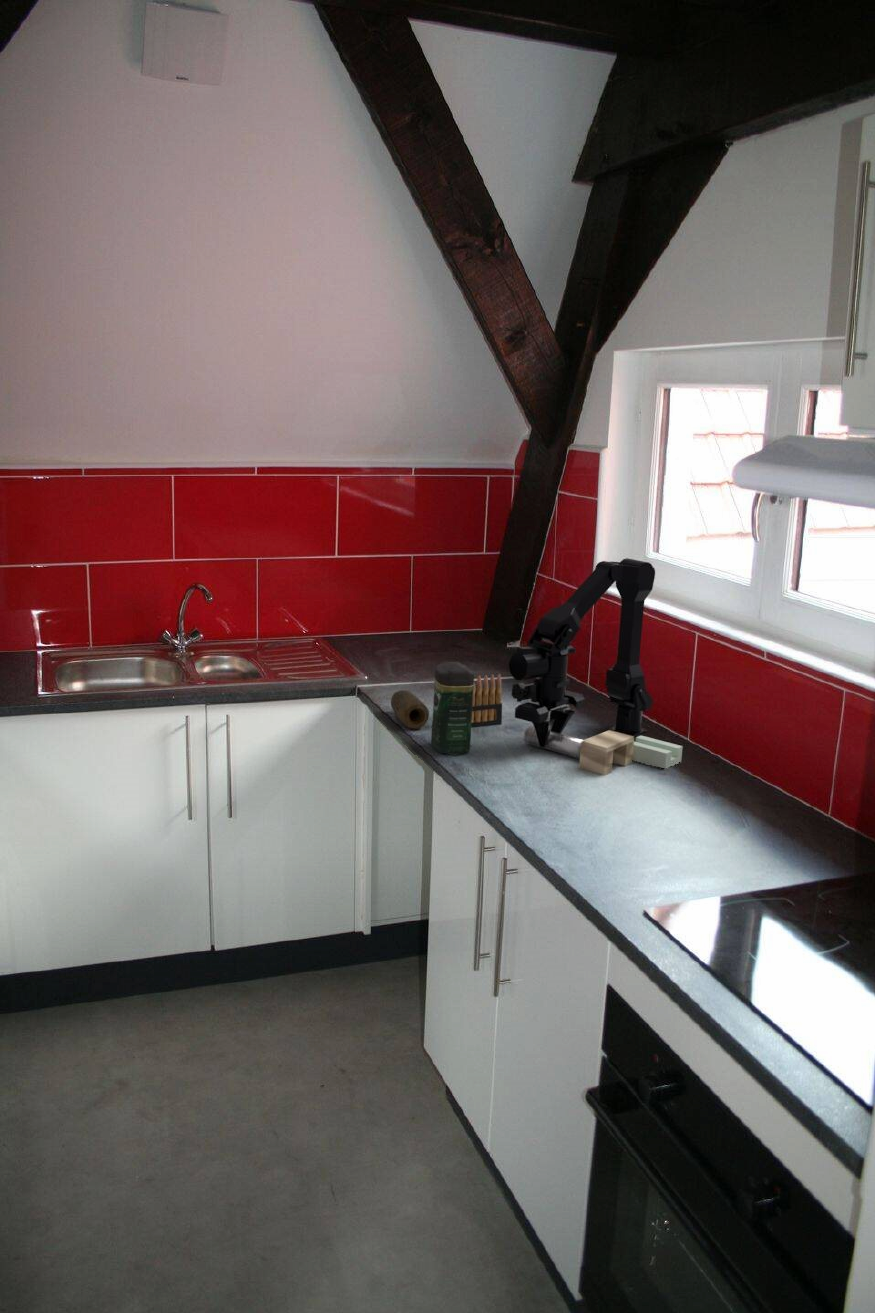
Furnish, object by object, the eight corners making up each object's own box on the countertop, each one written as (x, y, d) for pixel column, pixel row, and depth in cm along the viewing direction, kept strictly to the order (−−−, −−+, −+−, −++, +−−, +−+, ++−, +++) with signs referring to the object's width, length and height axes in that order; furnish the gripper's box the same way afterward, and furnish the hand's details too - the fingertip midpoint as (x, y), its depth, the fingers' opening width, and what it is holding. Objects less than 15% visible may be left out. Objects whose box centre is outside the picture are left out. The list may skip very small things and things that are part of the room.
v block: (639, 750, 239) (640, 735, 239) (681, 762, 233) (682, 746, 232) (622, 757, 234) (624, 742, 233) (665, 769, 228) (666, 753, 227)
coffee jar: (474, 755, 231) (479, 669, 227) (437, 756, 229) (441, 670, 225) (463, 741, 240) (467, 658, 236) (427, 742, 239) (431, 658, 234)
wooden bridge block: (607, 756, 235) (609, 730, 233) (631, 763, 231) (634, 736, 230) (579, 767, 227) (581, 741, 225) (604, 775, 223) (606, 748, 221)
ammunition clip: (497, 722, 255) (500, 672, 253) (501, 724, 254) (505, 674, 251) (457, 726, 251) (459, 675, 248) (461, 729, 249) (463, 677, 246)
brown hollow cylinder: (434, 730, 247) (435, 702, 245) (404, 732, 245) (405, 703, 243) (413, 712, 261) (414, 684, 259) (385, 713, 258) (386, 686, 257)
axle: (523, 745, 239) (524, 727, 238) (533, 742, 242) (535, 724, 241) (586, 763, 229) (588, 744, 229) (596, 759, 233) (598, 741, 232)
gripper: (545, 660, 246) (541, 727, 250) (496, 674, 232) (492, 745, 235) (588, 670, 239) (583, 738, 243) (540, 684, 225) (535, 757, 229)
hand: (547, 744), depth 238 cm, fingers closed on axle, 4 cm apart
